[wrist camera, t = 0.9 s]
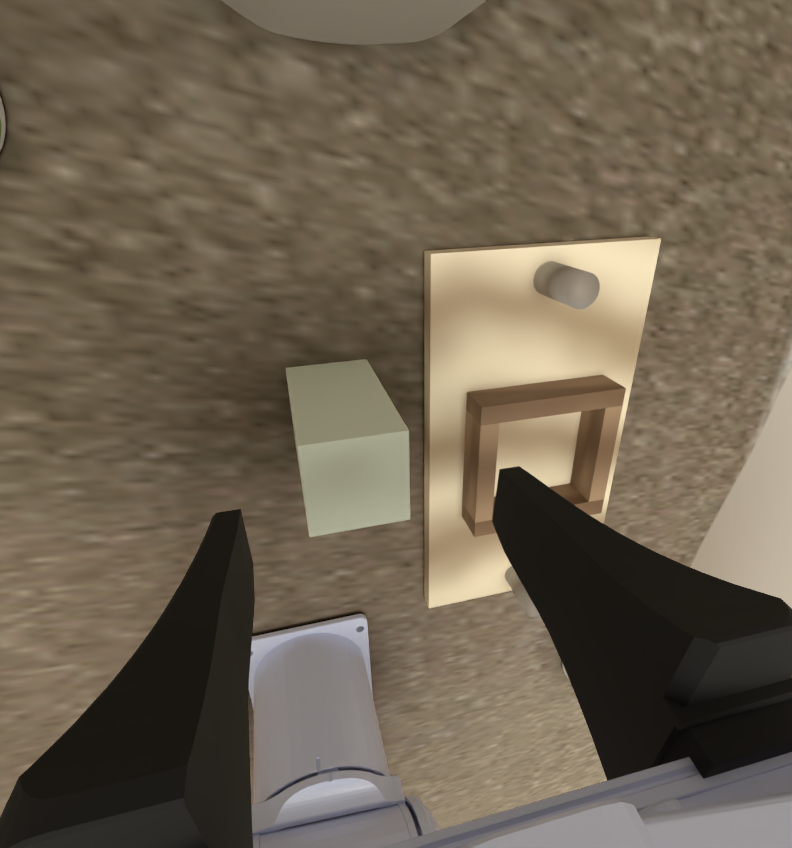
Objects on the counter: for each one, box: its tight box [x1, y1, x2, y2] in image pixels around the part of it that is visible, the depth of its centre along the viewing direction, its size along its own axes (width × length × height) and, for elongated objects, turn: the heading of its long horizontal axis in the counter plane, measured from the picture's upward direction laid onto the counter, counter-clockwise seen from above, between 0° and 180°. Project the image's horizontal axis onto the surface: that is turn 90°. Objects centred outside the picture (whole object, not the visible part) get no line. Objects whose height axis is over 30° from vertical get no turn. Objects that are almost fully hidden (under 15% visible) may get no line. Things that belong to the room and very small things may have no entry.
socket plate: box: [424, 236, 661, 617], centre depth 28 cm, size 22×12×4 cm, turn 1°
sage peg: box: [286, 359, 410, 537], centre depth 22 cm, size 4×4×8 cm
